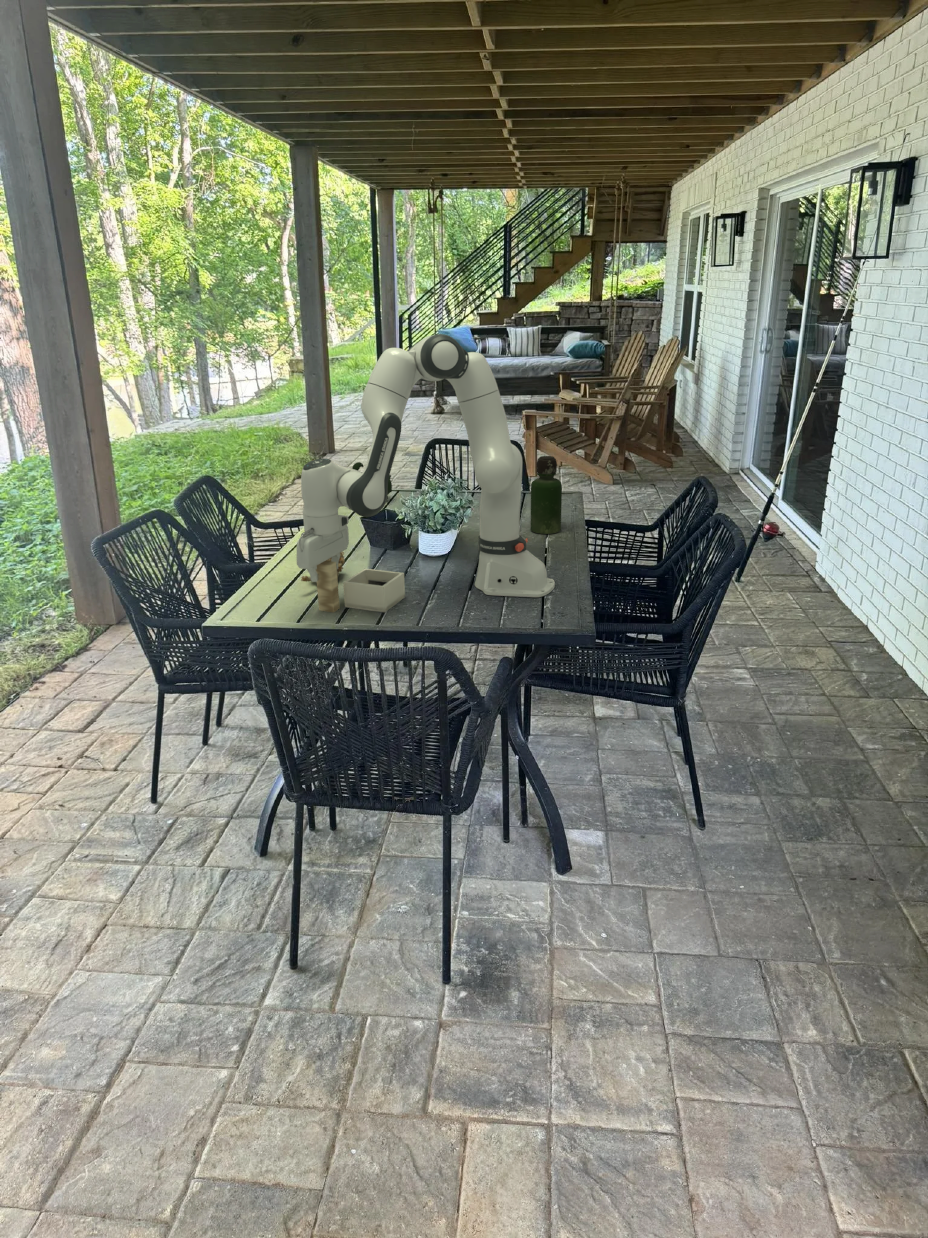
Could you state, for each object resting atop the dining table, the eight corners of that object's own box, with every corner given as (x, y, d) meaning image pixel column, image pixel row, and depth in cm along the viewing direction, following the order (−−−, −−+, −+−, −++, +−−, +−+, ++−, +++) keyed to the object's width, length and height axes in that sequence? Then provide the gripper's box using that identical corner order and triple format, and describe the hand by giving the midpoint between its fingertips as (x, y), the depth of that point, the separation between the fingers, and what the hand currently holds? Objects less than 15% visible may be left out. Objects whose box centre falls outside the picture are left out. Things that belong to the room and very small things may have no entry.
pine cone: (321, 571, 258) (318, 539, 254) (352, 573, 256) (349, 540, 252) (292, 596, 238) (288, 562, 234) (324, 598, 236) (321, 564, 232)
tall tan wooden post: (339, 608, 228) (336, 561, 224) (334, 612, 226) (330, 565, 221) (324, 606, 230) (321, 560, 225) (319, 610, 227) (314, 563, 223)
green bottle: (524, 530, 294) (524, 457, 285) (545, 524, 301) (546, 453, 291) (545, 536, 287) (547, 461, 278) (567, 530, 293) (569, 457, 284)
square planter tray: (405, 597, 235) (404, 572, 233) (385, 612, 225) (383, 587, 223) (366, 592, 240) (364, 568, 237) (344, 607, 229) (343, 582, 227)
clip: (390, 596, 233) (389, 581, 232) (380, 603, 228) (380, 588, 227) (369, 593, 236) (368, 579, 234) (359, 600, 231) (358, 586, 229)
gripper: (310, 535, 209) (314, 589, 215) (351, 515, 227) (354, 565, 232) (288, 533, 212) (292, 586, 217) (331, 513, 229) (334, 562, 234)
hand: (324, 575), depth 225 cm, fingers open, 8 cm apart
